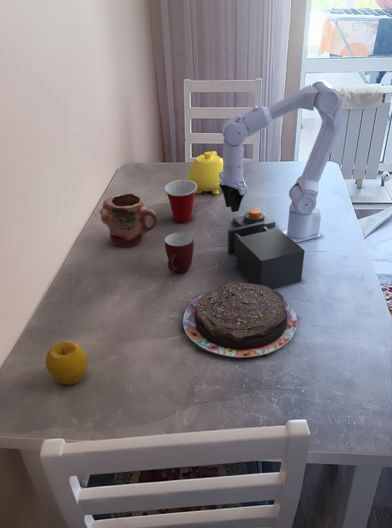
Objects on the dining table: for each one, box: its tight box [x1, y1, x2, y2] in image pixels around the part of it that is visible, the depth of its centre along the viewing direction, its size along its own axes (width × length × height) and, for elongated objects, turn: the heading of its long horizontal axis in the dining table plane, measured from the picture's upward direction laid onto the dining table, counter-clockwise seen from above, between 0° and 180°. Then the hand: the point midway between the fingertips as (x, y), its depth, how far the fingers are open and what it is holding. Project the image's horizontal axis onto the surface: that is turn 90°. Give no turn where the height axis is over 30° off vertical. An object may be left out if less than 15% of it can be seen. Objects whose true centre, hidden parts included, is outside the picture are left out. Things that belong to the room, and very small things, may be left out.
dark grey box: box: [227, 222, 270, 259], centre depth 140 cm, size 17×12×8 cm
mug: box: [164, 232, 195, 274], centre depth 135 cm, size 10×8×10 cm
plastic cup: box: [163, 179, 197, 224], centre depth 161 cm, size 11×11×12 cm
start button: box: [248, 208, 261, 218], centre depth 157 cm, size 4×4×2 cm
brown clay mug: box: [99, 193, 159, 248], centre depth 149 cm, size 20×12×14 cm, turn 73°
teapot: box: [187, 150, 223, 195], centre depth 182 cm, size 20×16×14 cm
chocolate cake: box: [182, 281, 298, 359], centre depth 116 cm, size 28×28×7 cm
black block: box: [236, 228, 306, 290], centre depth 132 cm, size 14×13×10 cm
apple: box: [45, 340, 88, 386], centre depth 102 cm, size 9×8×9 cm
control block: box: [232, 210, 277, 229], centre depth 159 cm, size 11×9×4 cm
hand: (232, 208), depth 146 cm, fingers open, 3 cm apart
